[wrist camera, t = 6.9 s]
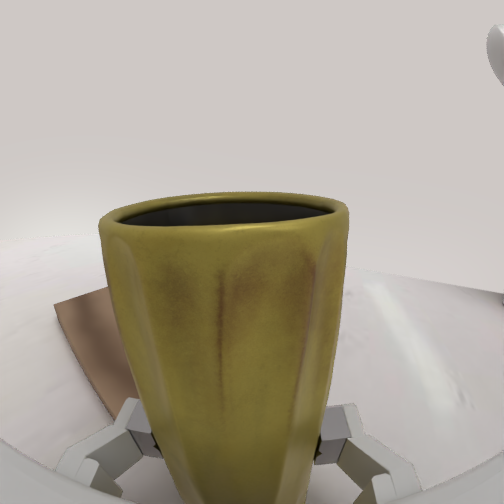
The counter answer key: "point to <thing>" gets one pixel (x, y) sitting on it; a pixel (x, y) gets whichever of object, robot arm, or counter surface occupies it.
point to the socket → (98, 347)
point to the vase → (230, 333)
